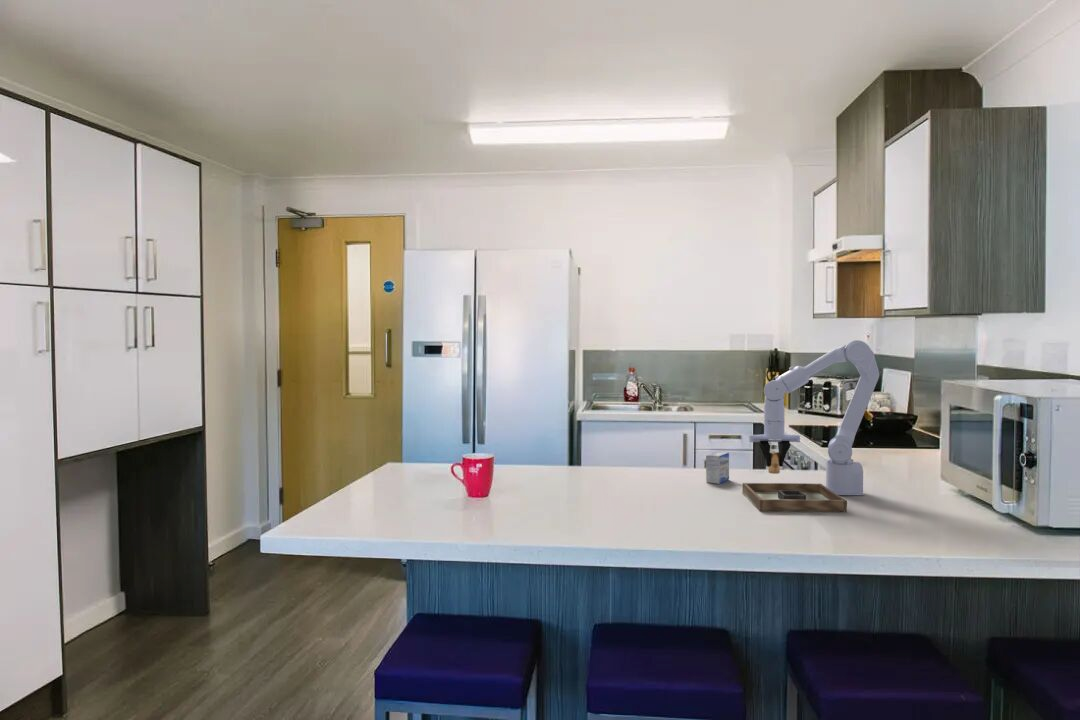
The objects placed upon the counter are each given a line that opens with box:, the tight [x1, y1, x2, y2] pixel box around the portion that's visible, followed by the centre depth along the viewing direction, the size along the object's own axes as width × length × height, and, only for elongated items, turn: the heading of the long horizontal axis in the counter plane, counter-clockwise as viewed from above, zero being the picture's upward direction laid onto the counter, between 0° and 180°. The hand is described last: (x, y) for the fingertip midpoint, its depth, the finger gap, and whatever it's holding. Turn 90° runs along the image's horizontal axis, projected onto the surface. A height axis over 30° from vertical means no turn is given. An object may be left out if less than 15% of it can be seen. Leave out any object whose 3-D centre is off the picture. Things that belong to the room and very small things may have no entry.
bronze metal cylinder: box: [767, 451, 781, 474], centre depth 207 cm, size 3×3×6 cm
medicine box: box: [705, 451, 730, 485], centre depth 216 cm, size 8×4×9 cm, turn 143°
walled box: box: [741, 482, 848, 513], centre depth 189 cm, size 22×20×3 cm
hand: (774, 466), depth 207 cm, fingers closed on bronze metal cylinder, 3 cm apart
